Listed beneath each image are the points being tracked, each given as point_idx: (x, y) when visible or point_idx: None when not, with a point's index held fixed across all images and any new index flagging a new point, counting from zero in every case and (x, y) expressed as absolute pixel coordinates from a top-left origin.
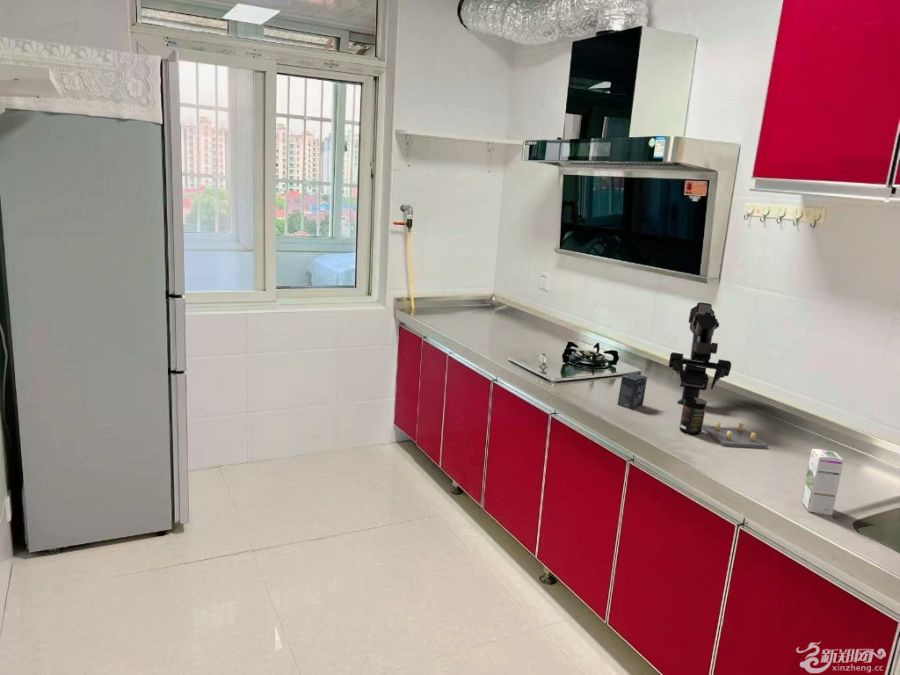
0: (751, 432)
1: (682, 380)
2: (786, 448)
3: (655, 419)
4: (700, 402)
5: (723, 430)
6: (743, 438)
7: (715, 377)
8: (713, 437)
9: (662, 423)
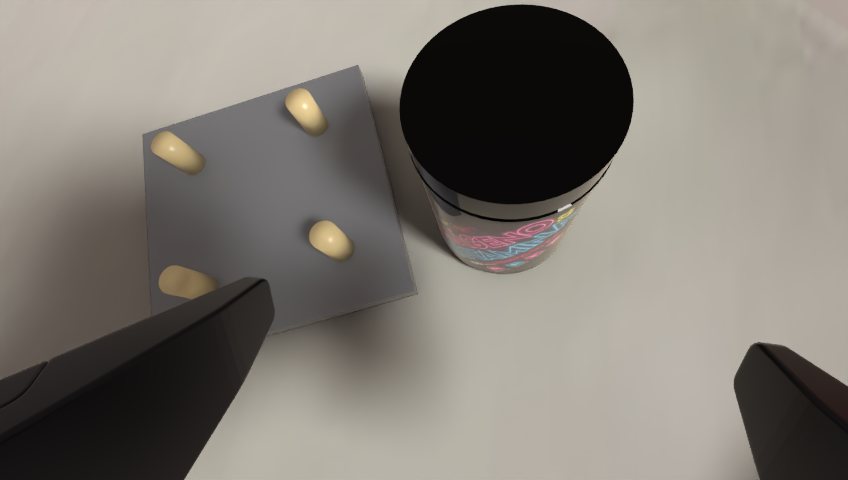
0: (172, 147)
1: (795, 367)
2: (59, 187)
3: (731, 368)
4: (469, 50)
5: (301, 265)
6: (228, 179)
7: (50, 382)
8: (383, 160)
9: (675, 297)
